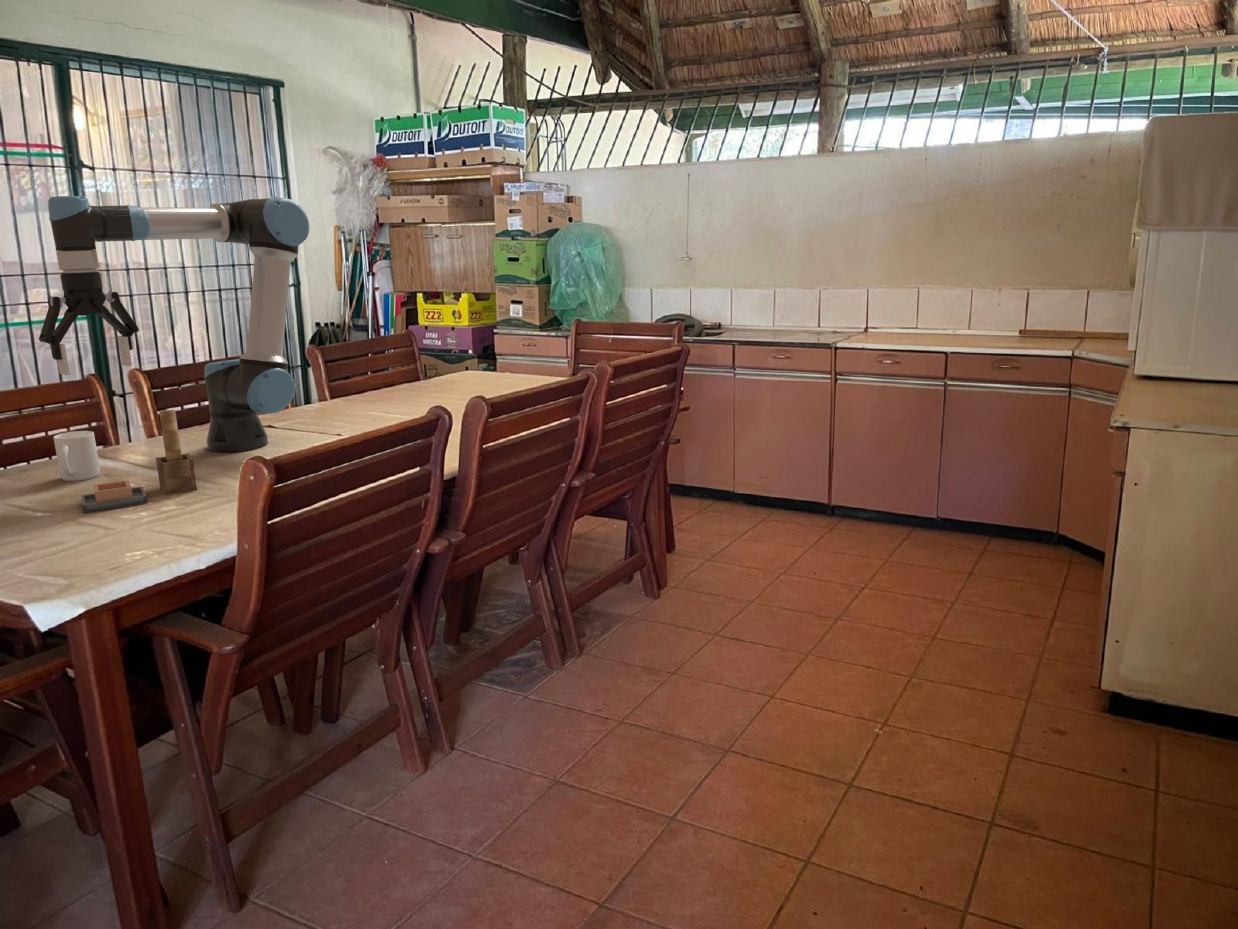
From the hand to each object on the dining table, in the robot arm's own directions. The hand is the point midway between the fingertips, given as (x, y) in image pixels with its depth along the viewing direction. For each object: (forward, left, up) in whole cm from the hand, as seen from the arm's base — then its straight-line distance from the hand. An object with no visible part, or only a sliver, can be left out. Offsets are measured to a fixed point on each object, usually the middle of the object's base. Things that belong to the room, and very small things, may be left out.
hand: (96, 370), depth 202 cm
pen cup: (-12, +9, -27) cm, 31 cm away
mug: (+7, -15, -27) cm, 32 cm away
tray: (+1, +13, -27) cm, 30 cm away
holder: (+1, +13, -26) cm, 29 cm away
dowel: (-12, +9, -26) cm, 30 cm away
